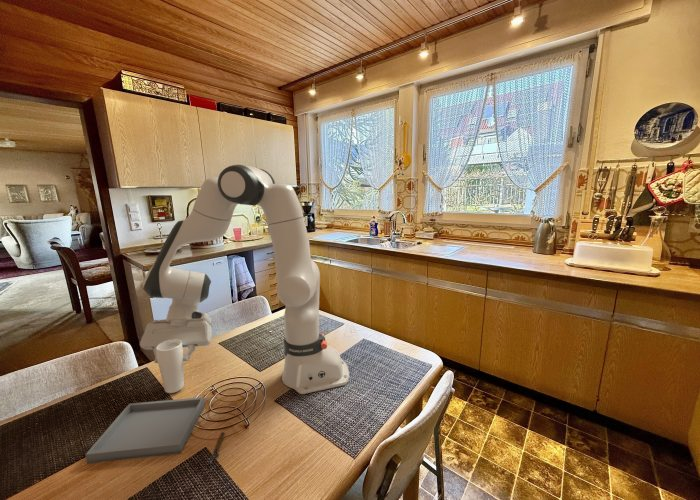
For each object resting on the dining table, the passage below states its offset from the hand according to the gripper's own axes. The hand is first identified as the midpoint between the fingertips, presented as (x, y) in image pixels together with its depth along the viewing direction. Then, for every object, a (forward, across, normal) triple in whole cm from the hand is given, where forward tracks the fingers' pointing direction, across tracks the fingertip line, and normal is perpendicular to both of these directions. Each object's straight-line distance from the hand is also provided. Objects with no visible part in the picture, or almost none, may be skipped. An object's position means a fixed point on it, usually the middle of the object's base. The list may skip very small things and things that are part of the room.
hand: (171, 361), depth 88 cm
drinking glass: (+7, 0, +6) cm, 9 cm away
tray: (+18, +2, -5) cm, 19 cm away
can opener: (+24, +20, -10) cm, 33 cm away
